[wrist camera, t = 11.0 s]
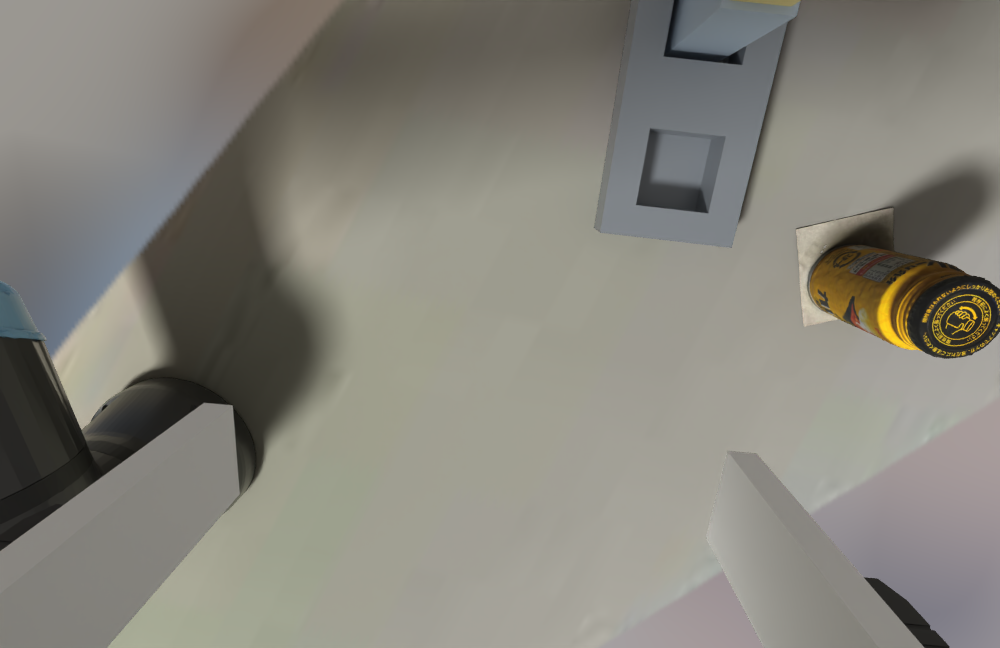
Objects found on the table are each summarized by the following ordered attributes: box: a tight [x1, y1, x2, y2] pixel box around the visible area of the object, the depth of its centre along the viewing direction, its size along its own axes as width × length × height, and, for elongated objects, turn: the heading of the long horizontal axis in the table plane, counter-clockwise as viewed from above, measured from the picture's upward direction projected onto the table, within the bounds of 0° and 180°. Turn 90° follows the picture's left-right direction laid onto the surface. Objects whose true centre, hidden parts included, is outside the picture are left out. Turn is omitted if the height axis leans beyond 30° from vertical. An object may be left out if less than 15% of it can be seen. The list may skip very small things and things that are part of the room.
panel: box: [594, 0, 787, 248], centre depth 36 cm, size 10×20×4 cm, turn 174°
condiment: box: [796, 208, 1000, 358], centre depth 35 cm, size 7×8×12 cm
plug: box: [664, 0, 801, 62], centre depth 30 cm, size 4×4×12 cm
